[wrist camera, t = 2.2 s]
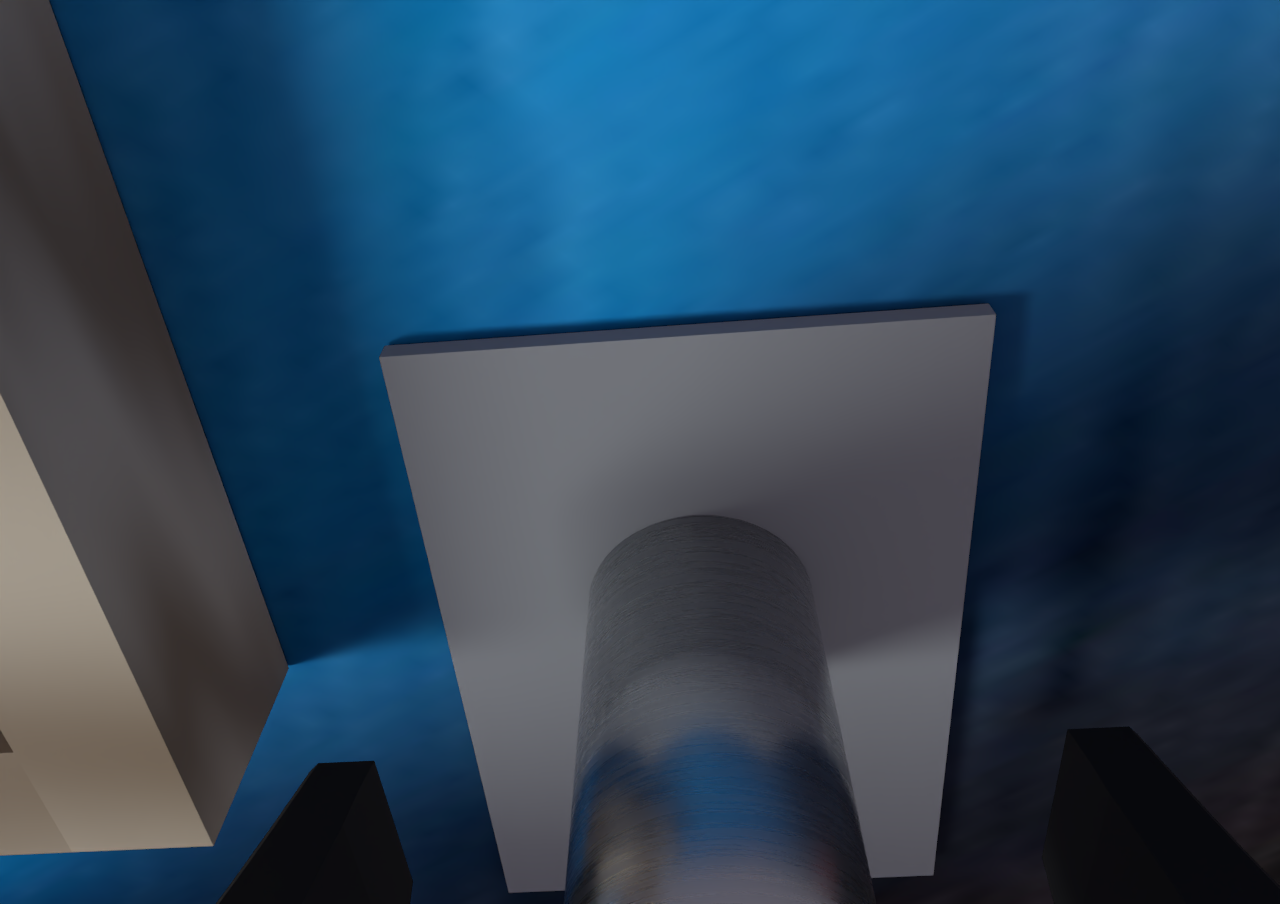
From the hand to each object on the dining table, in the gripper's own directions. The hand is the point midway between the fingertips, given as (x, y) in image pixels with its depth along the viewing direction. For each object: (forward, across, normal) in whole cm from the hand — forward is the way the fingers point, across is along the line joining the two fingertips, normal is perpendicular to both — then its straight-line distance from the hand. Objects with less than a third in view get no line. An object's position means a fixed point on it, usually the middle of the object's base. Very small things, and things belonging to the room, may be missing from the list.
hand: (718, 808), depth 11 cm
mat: (+4, 0, +1) cm, 4 cm away
